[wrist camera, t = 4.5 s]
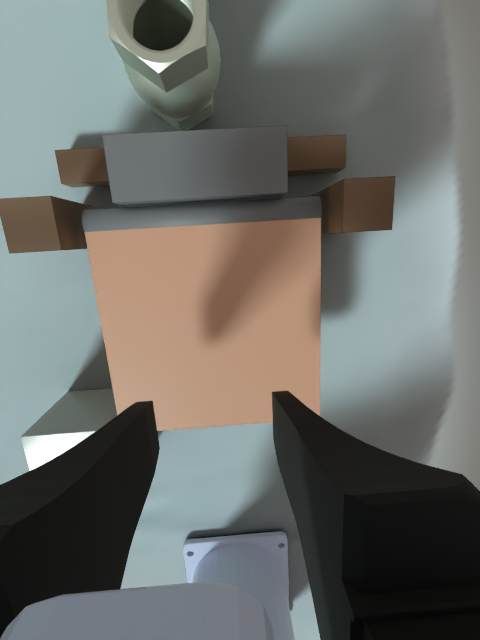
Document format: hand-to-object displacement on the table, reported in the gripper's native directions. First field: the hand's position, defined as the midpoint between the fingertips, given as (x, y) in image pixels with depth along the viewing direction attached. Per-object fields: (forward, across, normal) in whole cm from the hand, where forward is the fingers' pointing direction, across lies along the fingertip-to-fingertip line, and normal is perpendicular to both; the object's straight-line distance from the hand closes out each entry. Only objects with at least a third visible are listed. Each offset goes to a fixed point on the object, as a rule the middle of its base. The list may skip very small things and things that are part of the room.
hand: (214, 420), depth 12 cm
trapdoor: (+5, 0, -4) cm, 6 cm away
